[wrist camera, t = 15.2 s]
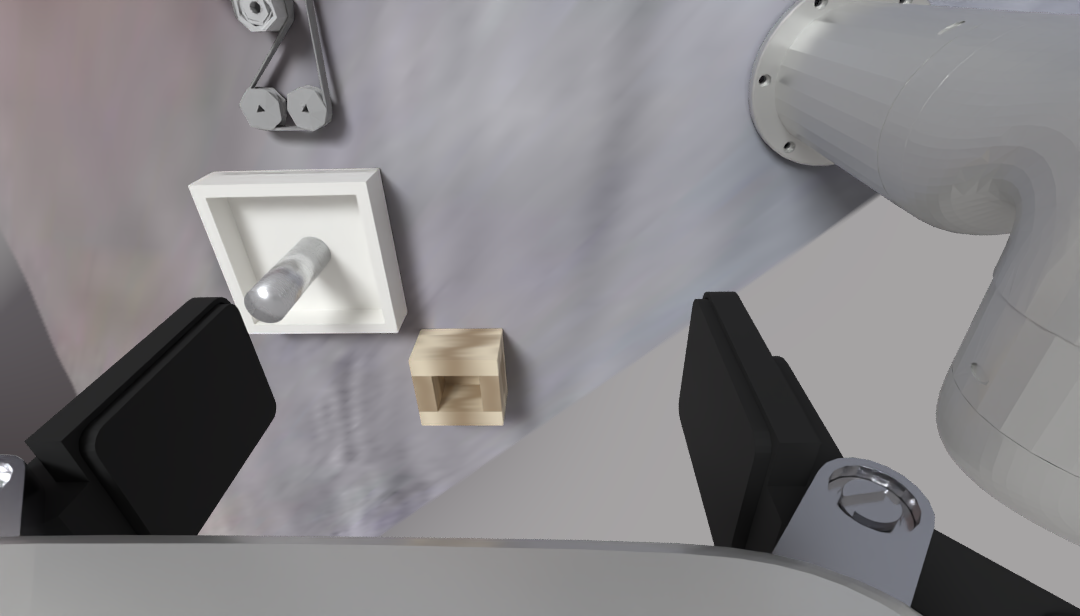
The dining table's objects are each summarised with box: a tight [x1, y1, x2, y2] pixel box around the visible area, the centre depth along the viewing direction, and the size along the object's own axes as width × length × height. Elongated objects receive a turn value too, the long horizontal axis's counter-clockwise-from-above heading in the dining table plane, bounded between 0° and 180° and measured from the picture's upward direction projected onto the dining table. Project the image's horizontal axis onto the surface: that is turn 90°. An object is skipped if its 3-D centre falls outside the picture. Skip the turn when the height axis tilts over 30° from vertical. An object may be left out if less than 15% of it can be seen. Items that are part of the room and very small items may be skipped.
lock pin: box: [244, 237, 331, 323], centre depth 42 cm, size 3×3×9 cm
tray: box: [188, 168, 407, 334], centre depth 45 cm, size 14×14×4 cm
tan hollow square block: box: [409, 329, 508, 425], centre depth 51 cm, size 8×8×5 cm
